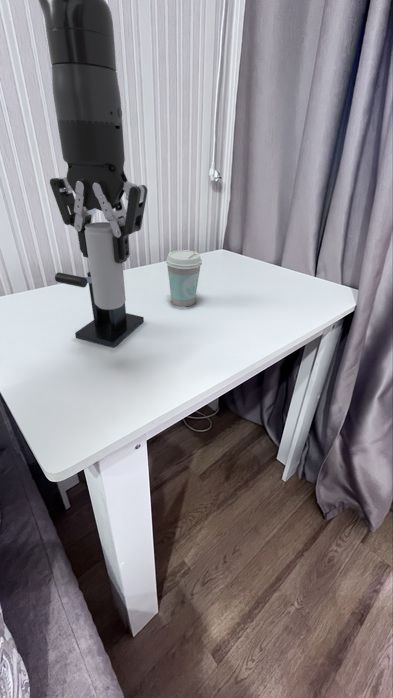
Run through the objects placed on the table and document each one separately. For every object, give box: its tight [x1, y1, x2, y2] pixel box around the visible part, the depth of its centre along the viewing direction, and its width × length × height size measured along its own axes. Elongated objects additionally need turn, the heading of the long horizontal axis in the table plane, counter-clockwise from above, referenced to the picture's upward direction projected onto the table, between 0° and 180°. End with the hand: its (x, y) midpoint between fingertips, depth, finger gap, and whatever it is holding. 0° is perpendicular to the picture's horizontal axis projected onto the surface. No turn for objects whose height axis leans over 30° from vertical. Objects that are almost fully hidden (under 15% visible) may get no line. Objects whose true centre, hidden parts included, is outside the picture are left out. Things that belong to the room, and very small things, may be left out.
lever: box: [54, 271, 92, 289], centre depth 60 cm, size 12×5×2 cm, turn 159°
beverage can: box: [85, 221, 127, 310], centre depth 49 cm, size 5×5×12 cm
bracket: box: [74, 271, 145, 348], centre depth 67 cm, size 12×9×13 cm
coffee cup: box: [165, 249, 203, 307], centre depth 80 cm, size 8×8×12 cm
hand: (105, 258), depth 49 cm, fingers closed on beverage can, 5 cm apart
